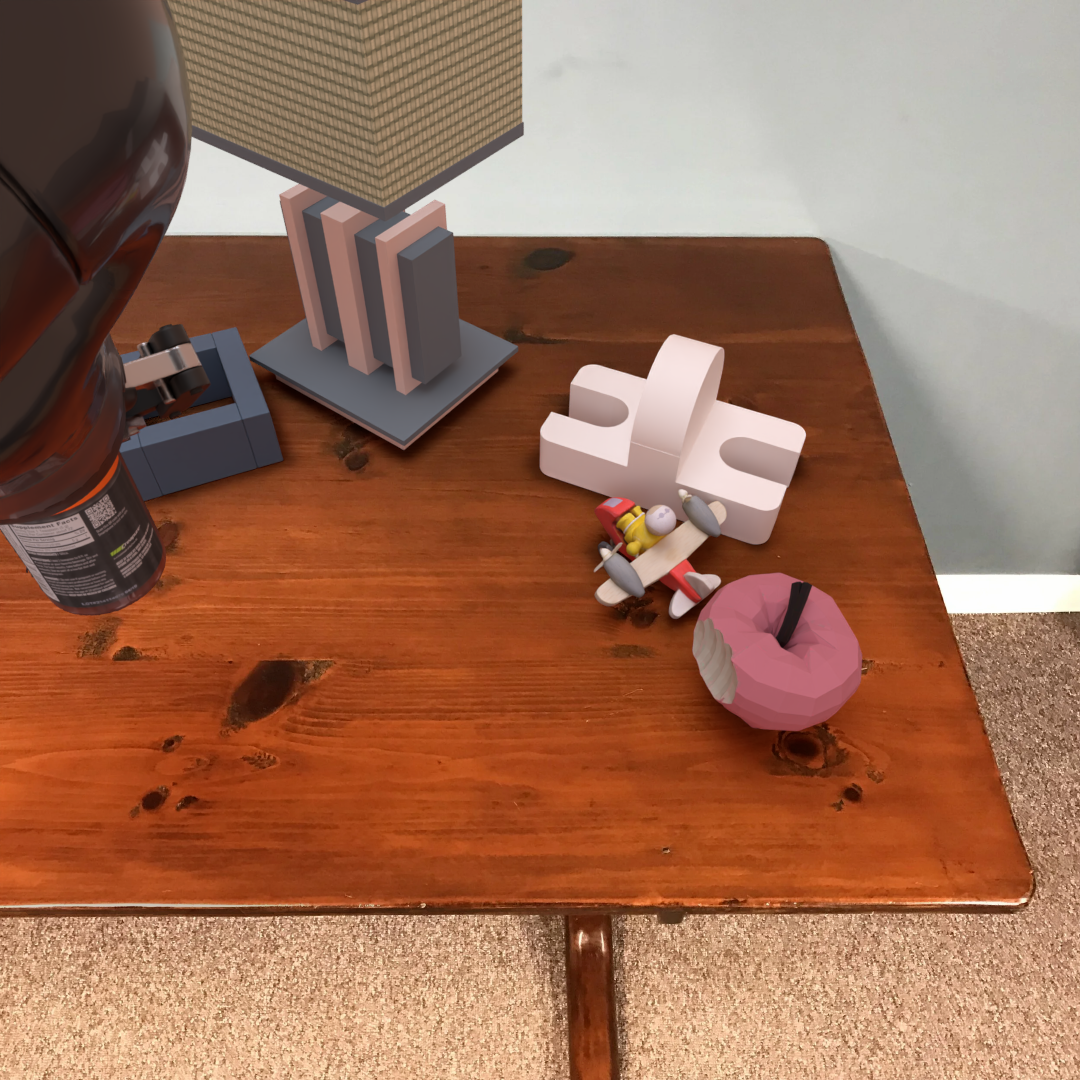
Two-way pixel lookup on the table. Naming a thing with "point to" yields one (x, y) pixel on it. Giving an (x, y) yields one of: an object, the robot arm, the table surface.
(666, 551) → the toy airplane
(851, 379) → the table surface
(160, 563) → the supplement bottle
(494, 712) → the table surface
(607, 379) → the slotted arch bracket
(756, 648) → the apple
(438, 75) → the desk lamp
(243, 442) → the stand
